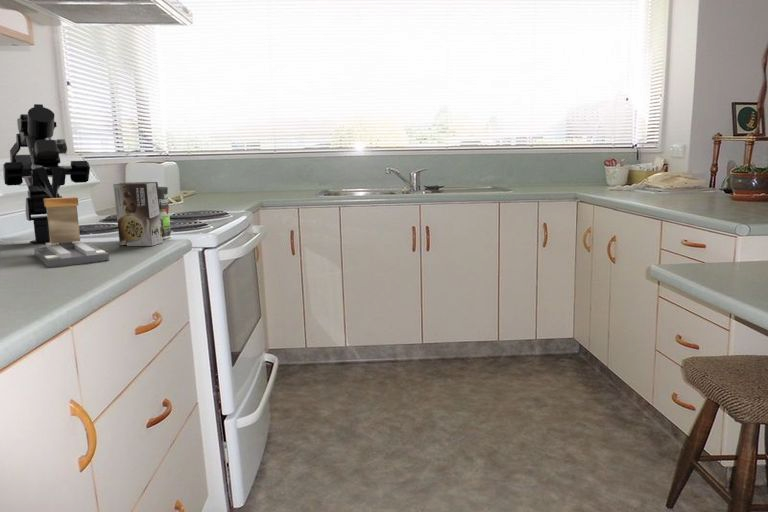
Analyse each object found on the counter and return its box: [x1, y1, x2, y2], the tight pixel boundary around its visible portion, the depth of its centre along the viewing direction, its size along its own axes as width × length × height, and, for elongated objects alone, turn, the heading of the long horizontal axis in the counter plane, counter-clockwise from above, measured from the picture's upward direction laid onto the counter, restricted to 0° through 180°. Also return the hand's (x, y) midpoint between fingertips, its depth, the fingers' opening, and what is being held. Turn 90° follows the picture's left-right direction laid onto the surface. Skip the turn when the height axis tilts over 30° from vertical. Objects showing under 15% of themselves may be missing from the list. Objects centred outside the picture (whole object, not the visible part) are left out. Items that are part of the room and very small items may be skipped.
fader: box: [44, 196, 81, 248], centre depth 141 cm, size 4×7×12 cm, turn 127°
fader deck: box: [33, 240, 110, 268], centre depth 138 cm, size 20×12×3 cm, turn 37°
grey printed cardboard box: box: [112, 181, 164, 247], centre depth 155 cm, size 9×6×16 cm
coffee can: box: [158, 186, 172, 240], centre depth 166 cm, size 10×10×14 cm
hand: (54, 197), depth 146 cm, fingers closed
